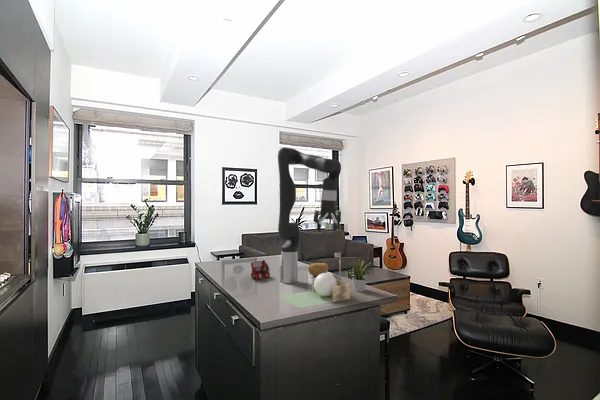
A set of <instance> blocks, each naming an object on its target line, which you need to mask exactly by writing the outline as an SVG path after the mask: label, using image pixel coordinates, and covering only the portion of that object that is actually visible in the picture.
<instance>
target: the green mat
mask: <svg viewBox="0 0 600 400" xmlns="http://www.w3.org/2000/svg"><path fill="white" fill-rule="evenodd" d="M279 297H280V298H281V299H283V300H285V301H286V302H288V303H290V304H291V305H293V306H294V307H296V308H297V309H303V308H310V307H314V306H319V305H325V304H330V303H335V302H337V301H335V302H334V301H333V294H332V295H331V296H328V297H324V296H321V295H319V294H318V293H317V292H316V291H312V290H309V291H303V292H296V293H290V294H284V295H279ZM350 299H351V300H352V297H350ZM350 299H349V300H350ZM345 300H347V299H345ZM345 300H344V301H345ZM340 301H342V300H340ZM340 301H339V302H340Z"/></svg>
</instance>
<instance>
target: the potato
mask: <svg viewBox="0 0 600 400" xmlns="http://www.w3.org/2000/svg"><path fill="white" fill-rule="evenodd" d="M328 270H329V264H328V263H325V262H315V263H311V264H309V265H308V267H307V271H308V274H309V275H311V276H312V277H317V276H318V275H319V274H321V273H328Z"/></svg>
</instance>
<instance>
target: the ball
mask: <svg viewBox="0 0 600 400" xmlns="http://www.w3.org/2000/svg"><path fill="white" fill-rule="evenodd" d="M315 277H316V279H315V281H314V288H315V290H316V292H317V293H318V294H319V295H321V296H324V297H328V296H331V295H332V294H333V286H337V281H336V279H337V278H336V277H335V276H334V275H333V274H331V273H330V272H326V273H321V274H319V275H318V276H315Z"/></svg>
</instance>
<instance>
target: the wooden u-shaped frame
mask: <svg viewBox="0 0 600 400" xmlns="http://www.w3.org/2000/svg"><path fill="white" fill-rule="evenodd" d="M334 258H336V259H337V258H339V259H338V260H339V261H338V264H339V266H338V268H339V269H338V271H339V274H338V275H339V277H338V279H337V278H335V279H336V281H337V286H333V301H334V302H333V303H335V301H336V302H340V300H341V301H345V299H346V300H350V298H351V283H348V282H346V281H343V280H342V268H341V267H342V263H341V262H342V252H341V251H339V252H334ZM316 277H317V276H314V277H312V278H311V291H316V290H315V288H314V281H315V279H316Z"/></svg>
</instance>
